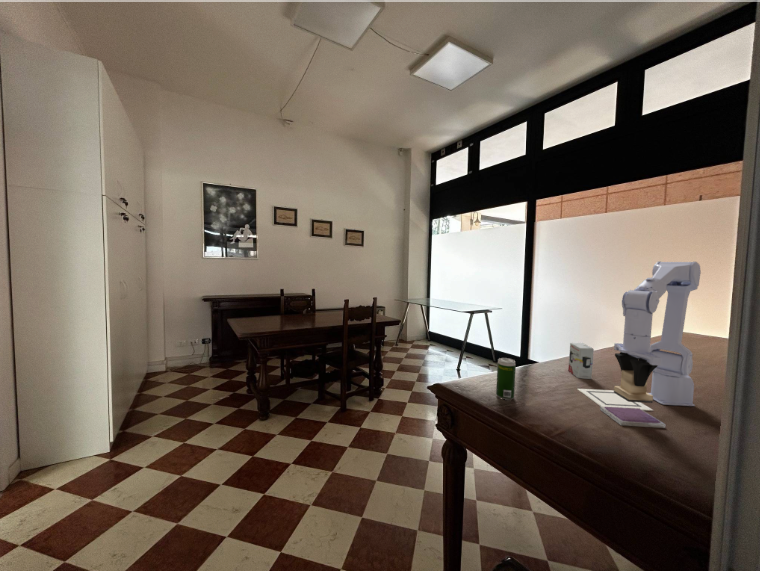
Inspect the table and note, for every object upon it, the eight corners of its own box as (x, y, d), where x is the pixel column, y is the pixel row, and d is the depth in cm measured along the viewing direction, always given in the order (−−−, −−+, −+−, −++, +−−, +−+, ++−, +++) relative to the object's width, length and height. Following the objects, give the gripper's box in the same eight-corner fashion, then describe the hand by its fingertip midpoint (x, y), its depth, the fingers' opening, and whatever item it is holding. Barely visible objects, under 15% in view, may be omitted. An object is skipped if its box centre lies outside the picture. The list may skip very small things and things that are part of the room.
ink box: (567, 370, 125) (569, 342, 125) (580, 371, 125) (582, 342, 124) (578, 378, 117) (580, 347, 116) (592, 379, 116) (594, 348, 115)
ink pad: (639, 411, 91) (639, 407, 90) (665, 427, 82) (665, 423, 81) (599, 409, 91) (600, 405, 91) (620, 425, 82) (621, 420, 82)
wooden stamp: (635, 393, 89) (637, 369, 88) (652, 403, 83) (654, 377, 82) (613, 392, 89) (615, 368, 89) (628, 401, 83) (630, 376, 83)
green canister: (517, 400, 96) (519, 363, 96) (500, 400, 96) (502, 362, 95) (509, 393, 102) (511, 357, 101) (493, 393, 102) (494, 357, 101)
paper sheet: (620, 391, 105) (620, 390, 105) (653, 411, 91) (653, 409, 91) (577, 389, 106) (577, 388, 106) (603, 408, 92) (603, 407, 92)
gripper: (604, 328, 92) (601, 372, 93) (641, 340, 78) (637, 392, 79) (629, 329, 92) (626, 373, 93) (671, 341, 77) (667, 394, 78)
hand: (633, 382), depth 86 cm, fingers closed on wooden stamp, 4 cm apart
